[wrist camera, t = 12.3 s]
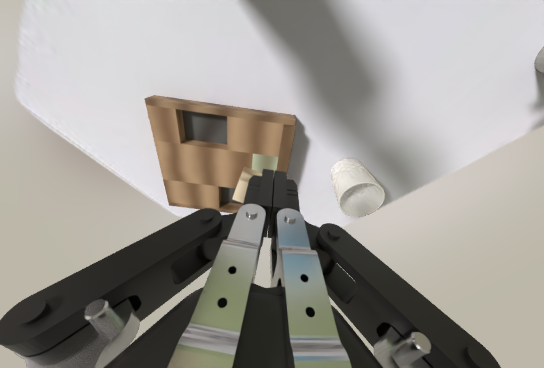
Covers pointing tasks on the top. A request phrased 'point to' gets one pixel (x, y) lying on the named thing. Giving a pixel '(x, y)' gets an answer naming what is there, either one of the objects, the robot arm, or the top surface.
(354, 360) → the robot arm
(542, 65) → the house plant
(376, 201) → the white cup
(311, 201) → the top surface
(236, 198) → the birch block
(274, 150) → the box
